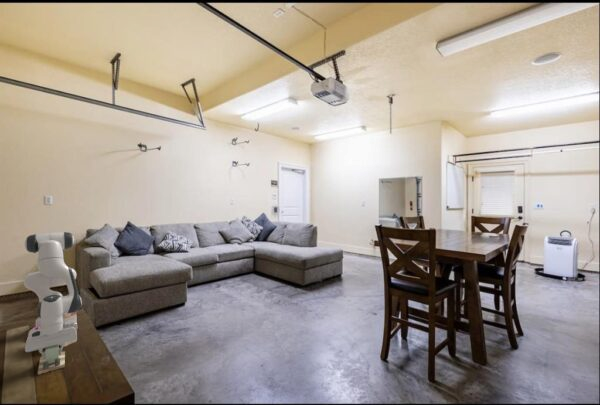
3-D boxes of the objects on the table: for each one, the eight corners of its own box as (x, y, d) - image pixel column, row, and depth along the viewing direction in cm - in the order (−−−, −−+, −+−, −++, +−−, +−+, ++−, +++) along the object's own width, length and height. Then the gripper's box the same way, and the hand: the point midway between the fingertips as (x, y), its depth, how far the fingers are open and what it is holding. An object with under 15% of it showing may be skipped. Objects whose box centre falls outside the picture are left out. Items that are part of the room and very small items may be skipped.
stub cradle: (40, 360, 148) (40, 352, 148) (64, 354, 155) (64, 346, 155) (37, 374, 136) (37, 365, 136) (64, 367, 143) (64, 358, 143)
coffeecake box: (46, 343, 167) (46, 310, 167) (59, 337, 174) (59, 306, 173) (64, 346, 163) (64, 313, 162) (77, 341, 169) (77, 308, 169)
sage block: (46, 357, 148) (46, 343, 148) (58, 353, 151) (58, 340, 151) (45, 365, 141) (45, 351, 141) (58, 361, 144) (58, 347, 144)
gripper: (77, 320, 155) (77, 344, 155) (25, 331, 142) (26, 358, 142) (77, 324, 150) (77, 349, 150) (24, 335, 137) (24, 363, 137)
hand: (52, 353), depth 146 cm, fingers open, 5 cm apart
